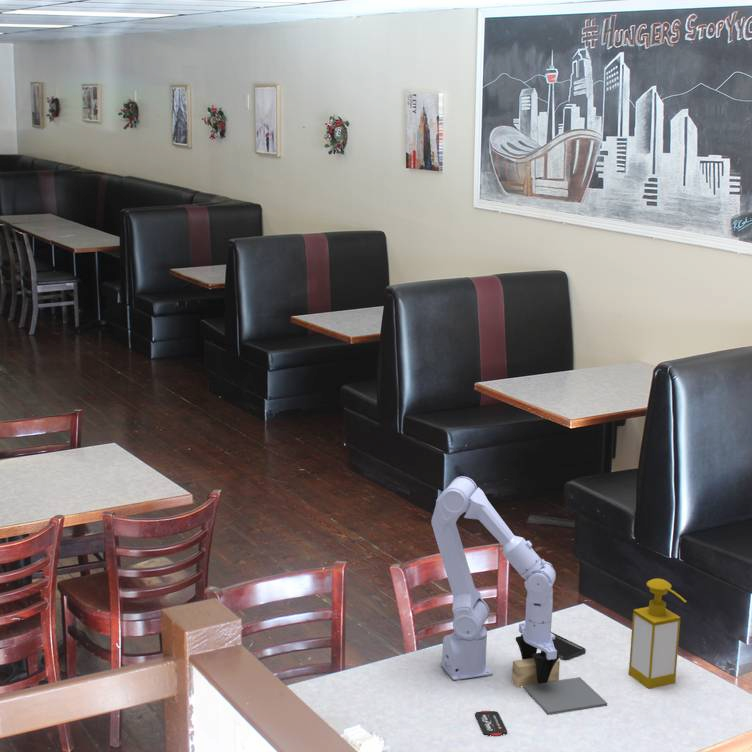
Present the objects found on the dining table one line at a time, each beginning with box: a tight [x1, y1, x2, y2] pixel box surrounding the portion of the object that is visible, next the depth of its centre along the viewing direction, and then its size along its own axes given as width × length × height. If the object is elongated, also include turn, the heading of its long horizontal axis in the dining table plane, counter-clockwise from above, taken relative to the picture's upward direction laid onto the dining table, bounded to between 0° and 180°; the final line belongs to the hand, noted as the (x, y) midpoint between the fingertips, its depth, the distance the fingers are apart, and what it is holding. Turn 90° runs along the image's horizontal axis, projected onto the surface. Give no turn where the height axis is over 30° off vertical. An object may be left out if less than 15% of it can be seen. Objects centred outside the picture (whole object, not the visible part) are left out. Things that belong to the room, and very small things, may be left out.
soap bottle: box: [628, 578, 687, 690], centre depth 240 cm, size 7×13×24 cm, turn 24°
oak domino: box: [511, 658, 561, 688], centre depth 242 cm, size 10×3×5 cm, turn 108°
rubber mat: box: [522, 676, 608, 715], centre depth 236 cm, size 14×12×1 cm
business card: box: [474, 710, 508, 737], centre depth 224 cm, size 10×1×5 cm
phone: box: [520, 631, 586, 662], centre depth 260 cm, size 8×1×15 cm
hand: (535, 675), depth 242 cm, fingers open, 6 cm apart
